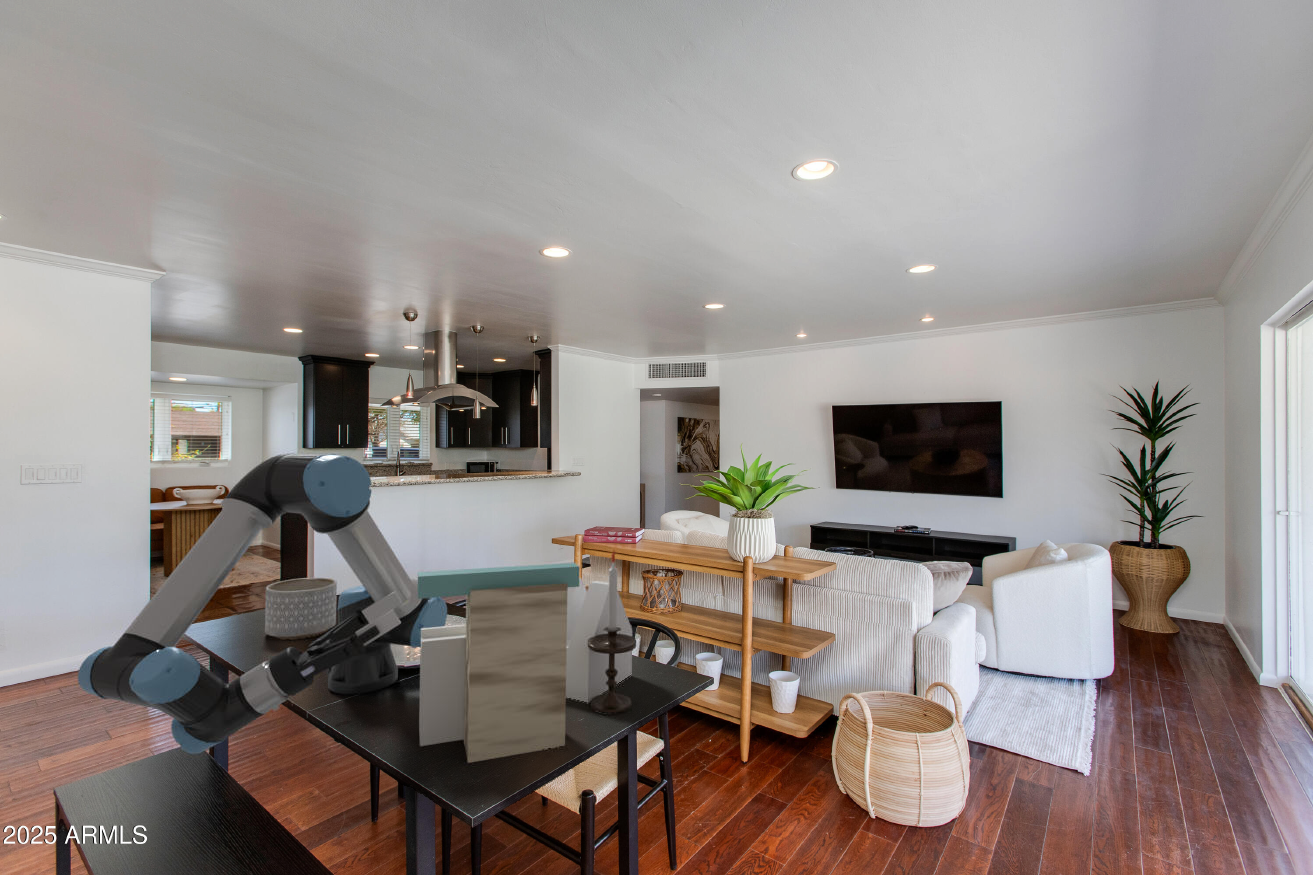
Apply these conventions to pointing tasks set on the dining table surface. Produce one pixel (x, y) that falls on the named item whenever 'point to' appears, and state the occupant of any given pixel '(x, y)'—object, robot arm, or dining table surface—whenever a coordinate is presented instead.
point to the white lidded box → (442, 684)
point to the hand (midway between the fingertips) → (397, 606)
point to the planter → (300, 607)
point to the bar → (494, 579)
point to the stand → (515, 670)
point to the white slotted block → (582, 624)
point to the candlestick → (611, 652)
